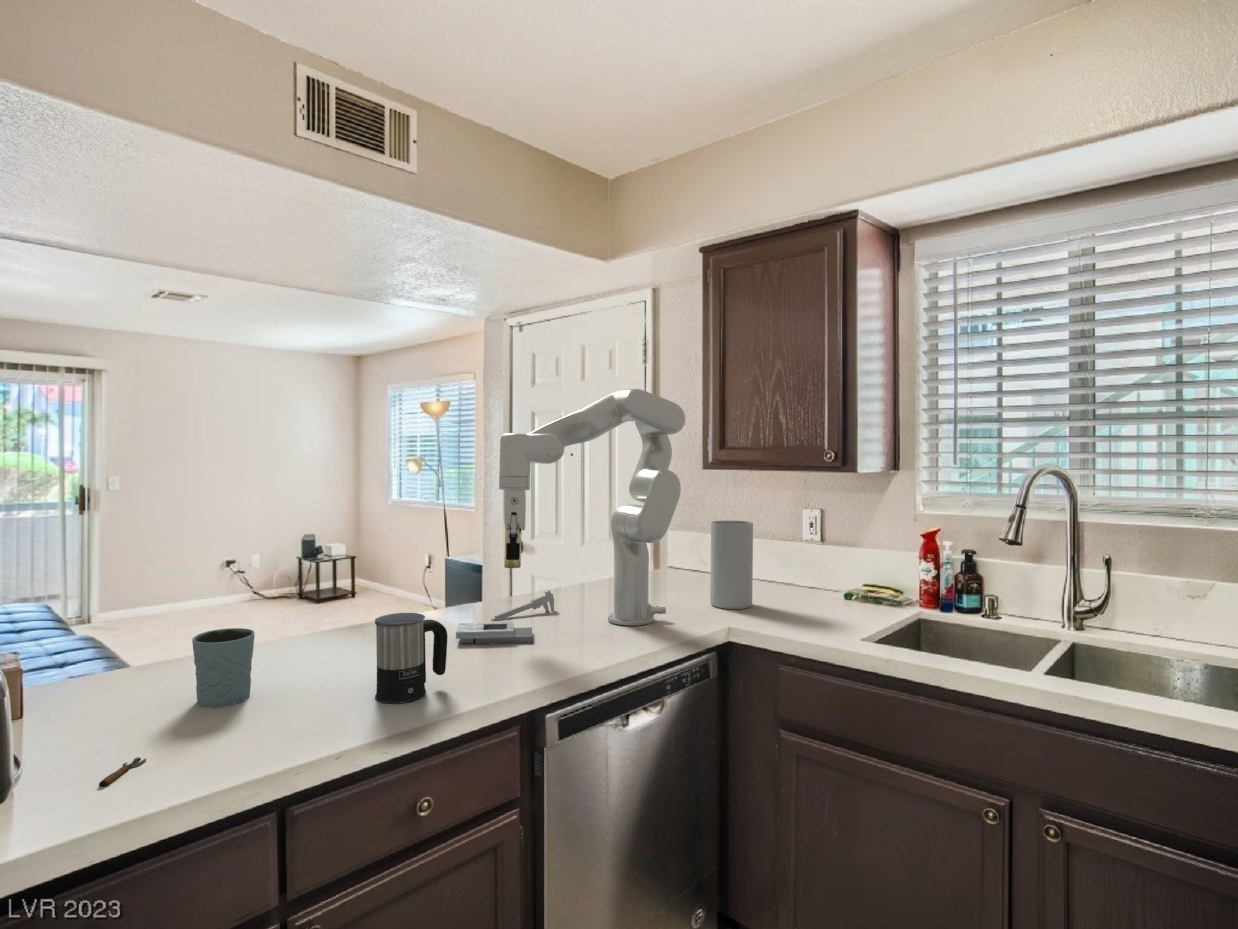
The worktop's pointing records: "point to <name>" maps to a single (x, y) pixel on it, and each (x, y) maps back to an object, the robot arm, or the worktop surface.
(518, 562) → the pin
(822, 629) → the worktop surface
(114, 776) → the can opener
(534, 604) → the caliper
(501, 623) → the grey socket block
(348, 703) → the worktop surface
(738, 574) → the cylinder vase
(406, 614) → the milk frother
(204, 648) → the embossed planter pot
